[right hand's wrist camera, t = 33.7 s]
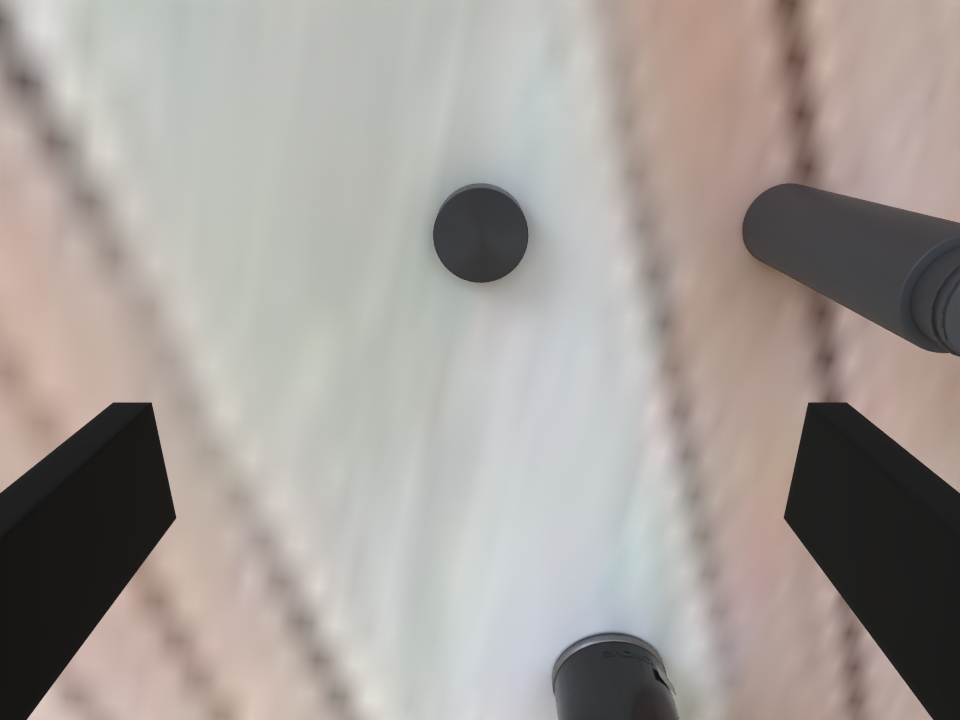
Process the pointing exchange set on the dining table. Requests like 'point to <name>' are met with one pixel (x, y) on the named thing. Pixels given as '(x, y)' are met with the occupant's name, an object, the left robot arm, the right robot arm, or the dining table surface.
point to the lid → (480, 233)
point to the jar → (865, 259)
